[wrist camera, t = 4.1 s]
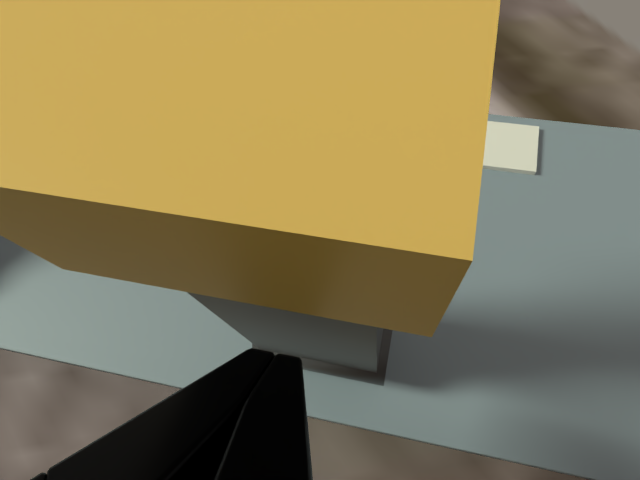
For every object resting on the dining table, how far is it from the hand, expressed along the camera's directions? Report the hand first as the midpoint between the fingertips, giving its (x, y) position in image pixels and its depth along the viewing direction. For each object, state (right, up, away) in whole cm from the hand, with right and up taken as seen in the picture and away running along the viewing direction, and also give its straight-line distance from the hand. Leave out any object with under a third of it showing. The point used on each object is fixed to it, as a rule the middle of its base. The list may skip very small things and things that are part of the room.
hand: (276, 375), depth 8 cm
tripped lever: (+1, 0, +5) cm, 5 cm away
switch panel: (-5, +2, +10) cm, 12 cm away
